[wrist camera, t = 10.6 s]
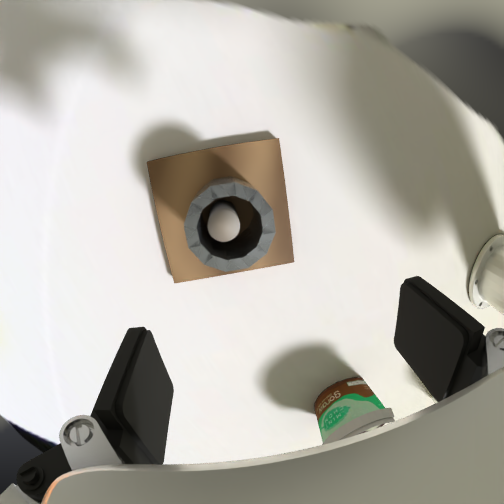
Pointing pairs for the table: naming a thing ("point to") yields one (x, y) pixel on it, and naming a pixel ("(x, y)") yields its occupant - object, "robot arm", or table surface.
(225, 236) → the wooden peg base
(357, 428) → the food container
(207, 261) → the sleeve
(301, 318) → the table surface
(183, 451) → the table surface
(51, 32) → the table surface
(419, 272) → the table surface
